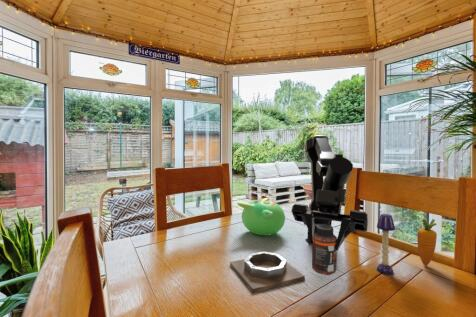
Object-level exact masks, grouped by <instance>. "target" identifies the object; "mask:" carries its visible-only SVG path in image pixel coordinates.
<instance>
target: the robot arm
mask: <svg viewBox="0 0 476 317" xmlns="http://www.w3.org/2000/svg"><path fill="white" fill-rule="evenodd" d="M304 153H305V154H306V156H305V157H306V159H307V160H308V162H309V163H310V173H311V175H310V176H311V178H310V179H311V202H310V204H309V205H308V204H304V203H297V202H296V203H294V204H293V205H292V206H291V214H292V217H293V218H294V220H295V221H296V222H299V223H303V224H304V226H306V228H307V238H305V241H306V242H308V243H309V246H312V241H313V235H314V234H315V233H317V231H316V230H317V226H318V225H330V226H332V224H333V223H332V221H333V222H340V226H339V231H338V235H337V242H336V250H337V251H338V250H339V249H340V248H341V246H342V245H343V242H344V241H345V240H346V239H347V237H348V236H349V235H350V234H352V233H355V232H356V231H359V232H367V231H368V224H369V220H368V218H369V216H368V215H369V214H368V213H367V212H366V211H362V210H354V209H350V211H349V214H342V213H341V212H342V204H345V203H346V198H347V196H346V194H347V191H346V189H345V185H346V184H347V183H348V180H349V178H350V176H351V173H352V172H353V168H354V165H353V163H352V162H351V160H349V159H348V158H347V157H343V154H341V153H335V152H333V149H332V147H331V146H330V143H329V137H328V135H326V134H324V135H323V134H322V135H320V134H318V135H313V136H312V137H311V138H309V139H306V141H305V143H304Z"/></svg>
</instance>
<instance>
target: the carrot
mask: <svg viewBox="0 0 476 317" xmlns="http://www.w3.org/2000/svg"><path fill="white" fill-rule="evenodd" d="M421 219H422V223H423V224H422V225H423V227H421V228H419V229H418V230H417V239H416V240H417V244H416V245H417V252H418V255H419V258H420V260H421V262H422V264H423V266H425V267H426V266H428V265H429V264H430V263H431V261H432V259H433V257H434V255H435V254H434V253H435V251H436V247H437V246H436V244H437V232H436V230H434V229H432V228H433V227H434V226H437V222H435V221H436V219H434V218H432V219H431V221H430V223H428V221H427V219H426V218H425V217H422V218H421Z"/></svg>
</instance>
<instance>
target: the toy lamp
mask: <svg viewBox="0 0 476 317" xmlns="http://www.w3.org/2000/svg"><path fill="white" fill-rule="evenodd" d="M376 228H377V229H378V230H382V236H381V238H382V239H381V244H382V245H381V249H382V250H381V253H382V254H381V259H382V260H381V263H379V264H378V265H377V267H376V271H378V272H379V271H380V272H379V273H381V272H383V273H382V274H384V273H387V274H386V275H391V273H392V274H393V273H394V270H393V269H394V268H393V267H392V266H391V265H389V257H390V256H389V247H390V245H389V243H390V242H389V238H390V237H389V234H390V231H391V232H392V231H395V230H396V226H395V222H394V219H393V216H392V215H391V214H387V213H381V214H380V215H379V218H378V222H377V225H376Z"/></svg>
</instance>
